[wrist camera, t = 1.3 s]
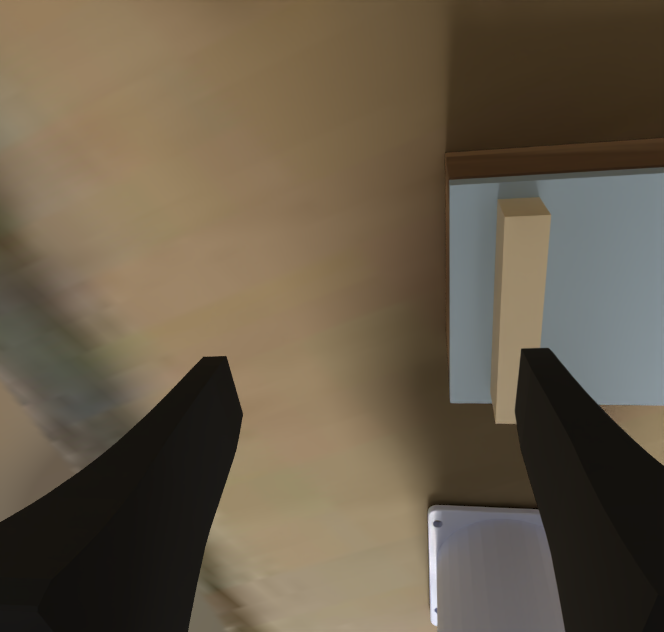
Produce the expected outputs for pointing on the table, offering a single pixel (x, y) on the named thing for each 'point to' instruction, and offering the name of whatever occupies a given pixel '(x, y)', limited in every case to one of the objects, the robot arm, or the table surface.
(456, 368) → the lid
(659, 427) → the table surface
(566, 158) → the pencil box
